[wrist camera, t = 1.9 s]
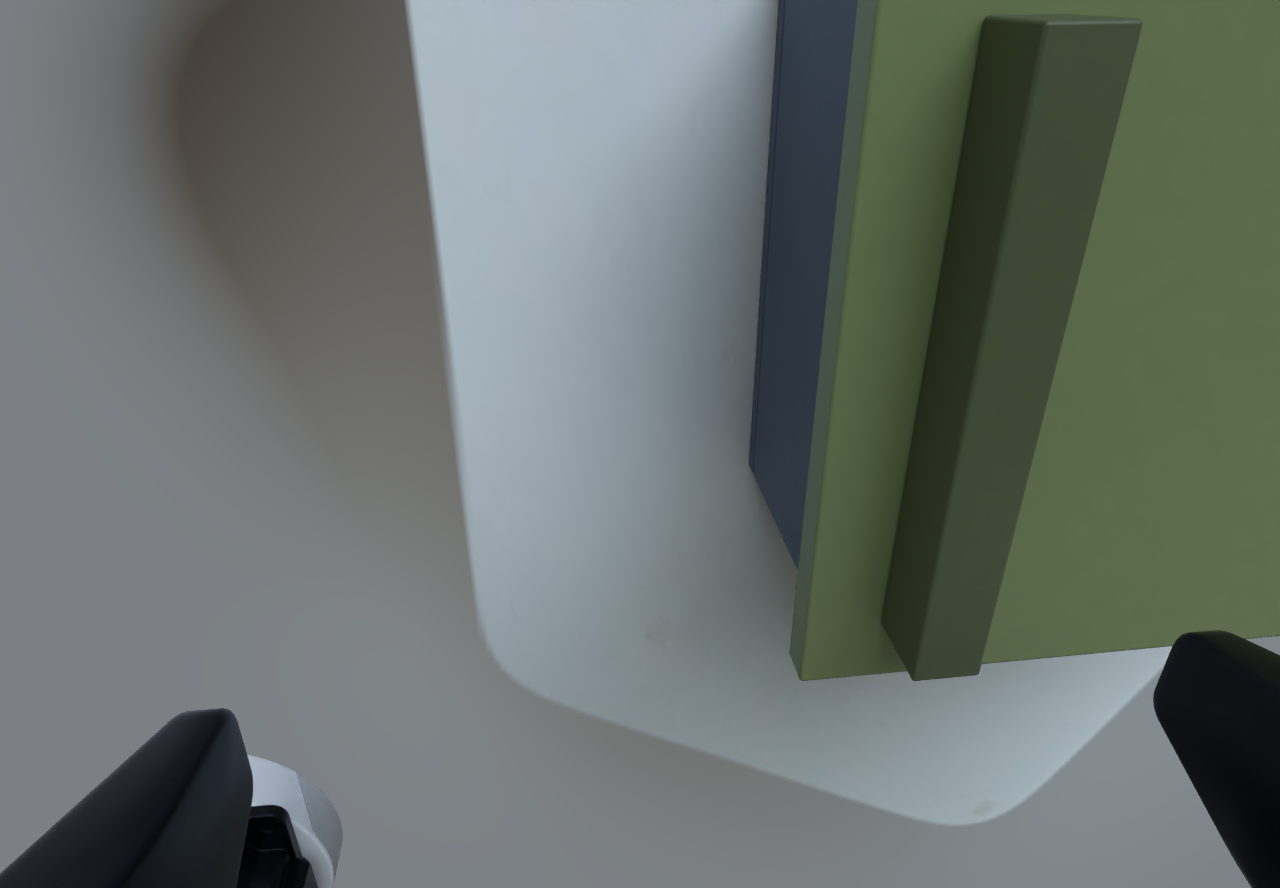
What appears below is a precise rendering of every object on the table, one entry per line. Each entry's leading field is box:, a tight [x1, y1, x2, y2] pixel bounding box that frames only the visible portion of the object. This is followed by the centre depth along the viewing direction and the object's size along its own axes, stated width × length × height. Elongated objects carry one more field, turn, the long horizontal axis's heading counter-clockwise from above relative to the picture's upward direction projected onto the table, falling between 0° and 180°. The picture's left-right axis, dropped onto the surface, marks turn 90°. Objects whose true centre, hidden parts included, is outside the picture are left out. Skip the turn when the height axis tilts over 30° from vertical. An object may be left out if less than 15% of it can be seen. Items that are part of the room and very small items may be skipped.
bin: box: [749, 0, 858, 570], centre depth 17 cm, size 14×12×6 cm
